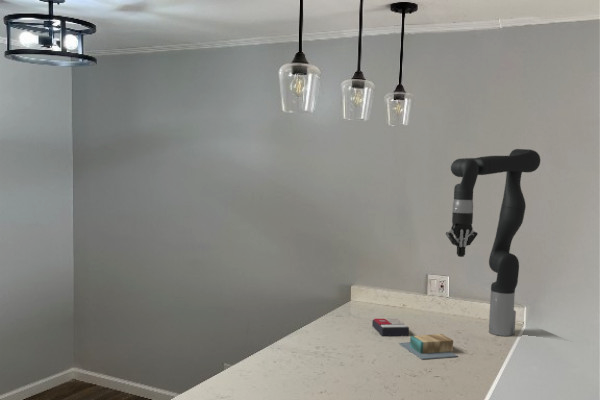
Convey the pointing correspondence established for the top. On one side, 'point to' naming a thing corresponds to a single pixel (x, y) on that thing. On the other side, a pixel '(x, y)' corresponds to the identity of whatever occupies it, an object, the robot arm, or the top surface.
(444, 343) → the block
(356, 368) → the top surface
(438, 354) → the mat
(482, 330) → the top surface
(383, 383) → the top surface
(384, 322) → the calculator
